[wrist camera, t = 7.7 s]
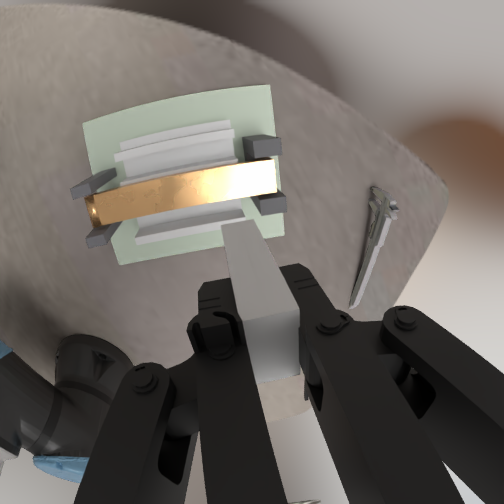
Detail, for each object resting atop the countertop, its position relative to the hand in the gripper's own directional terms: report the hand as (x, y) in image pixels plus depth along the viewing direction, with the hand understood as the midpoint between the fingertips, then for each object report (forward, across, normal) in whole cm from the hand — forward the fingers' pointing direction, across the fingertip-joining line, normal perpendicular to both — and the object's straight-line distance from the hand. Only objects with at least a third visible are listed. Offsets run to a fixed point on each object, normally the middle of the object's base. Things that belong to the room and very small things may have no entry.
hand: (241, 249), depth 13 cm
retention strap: (+16, -4, 0) cm, 16 cm away
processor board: (+20, -4, 0) cm, 21 cm away
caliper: (+21, +19, -14) cm, 32 cm away
